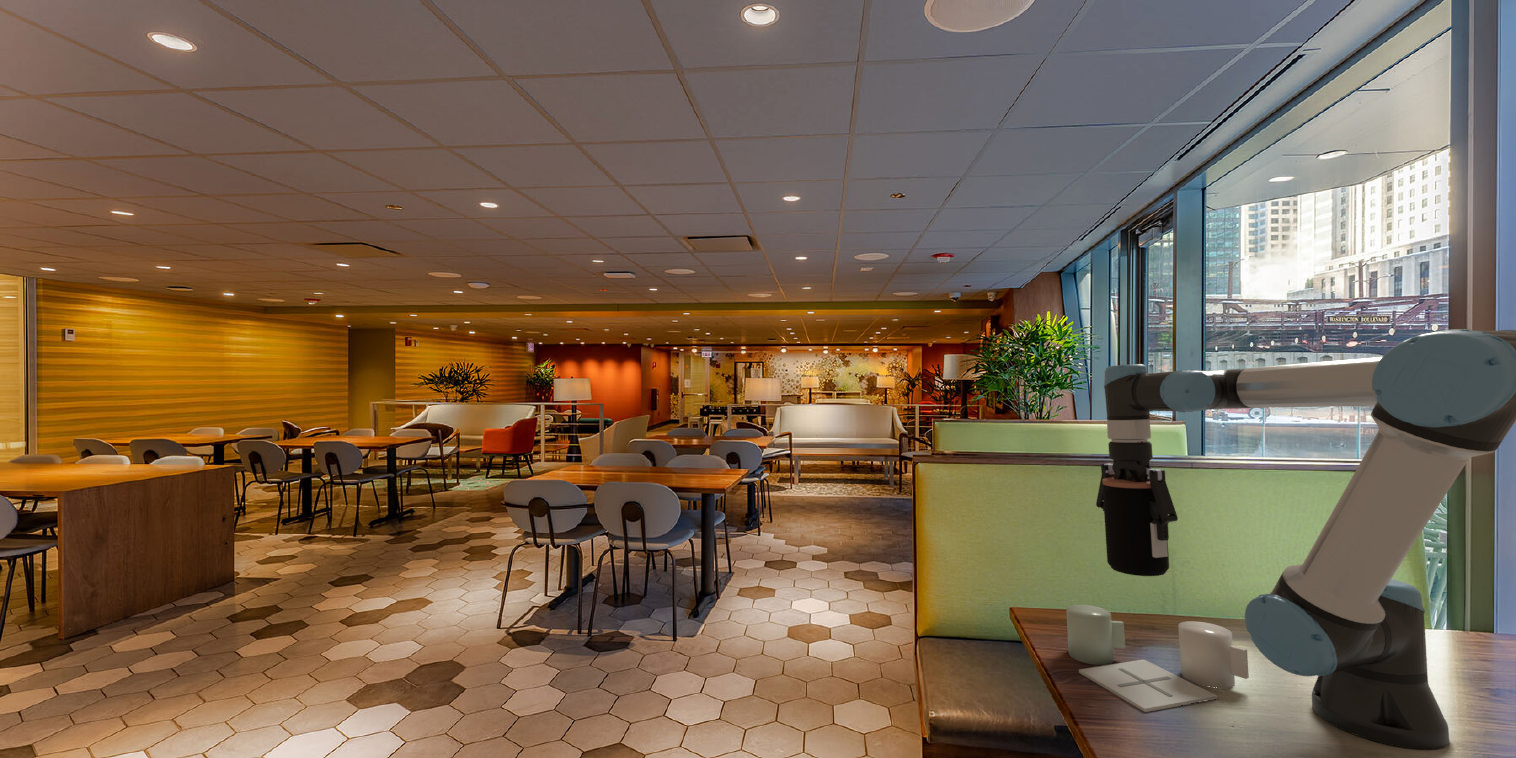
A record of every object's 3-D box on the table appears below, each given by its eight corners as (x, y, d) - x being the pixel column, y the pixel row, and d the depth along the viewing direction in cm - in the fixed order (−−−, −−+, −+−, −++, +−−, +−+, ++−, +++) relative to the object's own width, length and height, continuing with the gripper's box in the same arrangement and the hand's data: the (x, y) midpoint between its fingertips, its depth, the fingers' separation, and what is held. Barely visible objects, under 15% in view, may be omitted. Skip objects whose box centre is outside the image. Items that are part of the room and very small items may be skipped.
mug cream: (1173, 676, 113) (1170, 627, 113) (1192, 664, 117) (1189, 618, 117) (1239, 698, 104) (1236, 645, 104) (1257, 684, 108) (1254, 634, 109)
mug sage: (1072, 662, 120) (1070, 617, 120) (1065, 646, 127) (1063, 603, 127) (1131, 667, 117) (1128, 621, 117) (1119, 650, 124) (1117, 606, 124)
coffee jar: (1182, 576, 115) (1176, 482, 116) (1125, 577, 116) (1119, 484, 117) (1149, 561, 126) (1143, 475, 127) (1097, 563, 127) (1091, 477, 127)
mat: (1217, 699, 104) (1217, 695, 104) (1145, 712, 101) (1144, 708, 101) (1144, 662, 118) (1143, 658, 118) (1079, 672, 115) (1078, 669, 115)
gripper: (1196, 442, 111) (1204, 562, 110) (1103, 436, 134) (1109, 536, 133) (1161, 444, 110) (1169, 566, 109) (1073, 438, 133) (1079, 539, 132)
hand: (1136, 549), depth 121 cm, fingers closed on coffee jar, 11 cm apart
